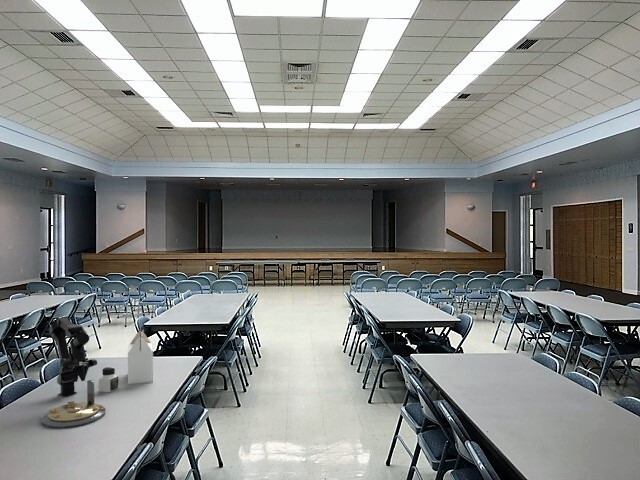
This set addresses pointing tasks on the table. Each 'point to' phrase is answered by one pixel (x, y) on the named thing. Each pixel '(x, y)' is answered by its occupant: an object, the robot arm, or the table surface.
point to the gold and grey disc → (94, 418)
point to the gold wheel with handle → (76, 408)
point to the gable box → (140, 359)
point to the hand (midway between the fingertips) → (83, 380)
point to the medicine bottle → (108, 380)
